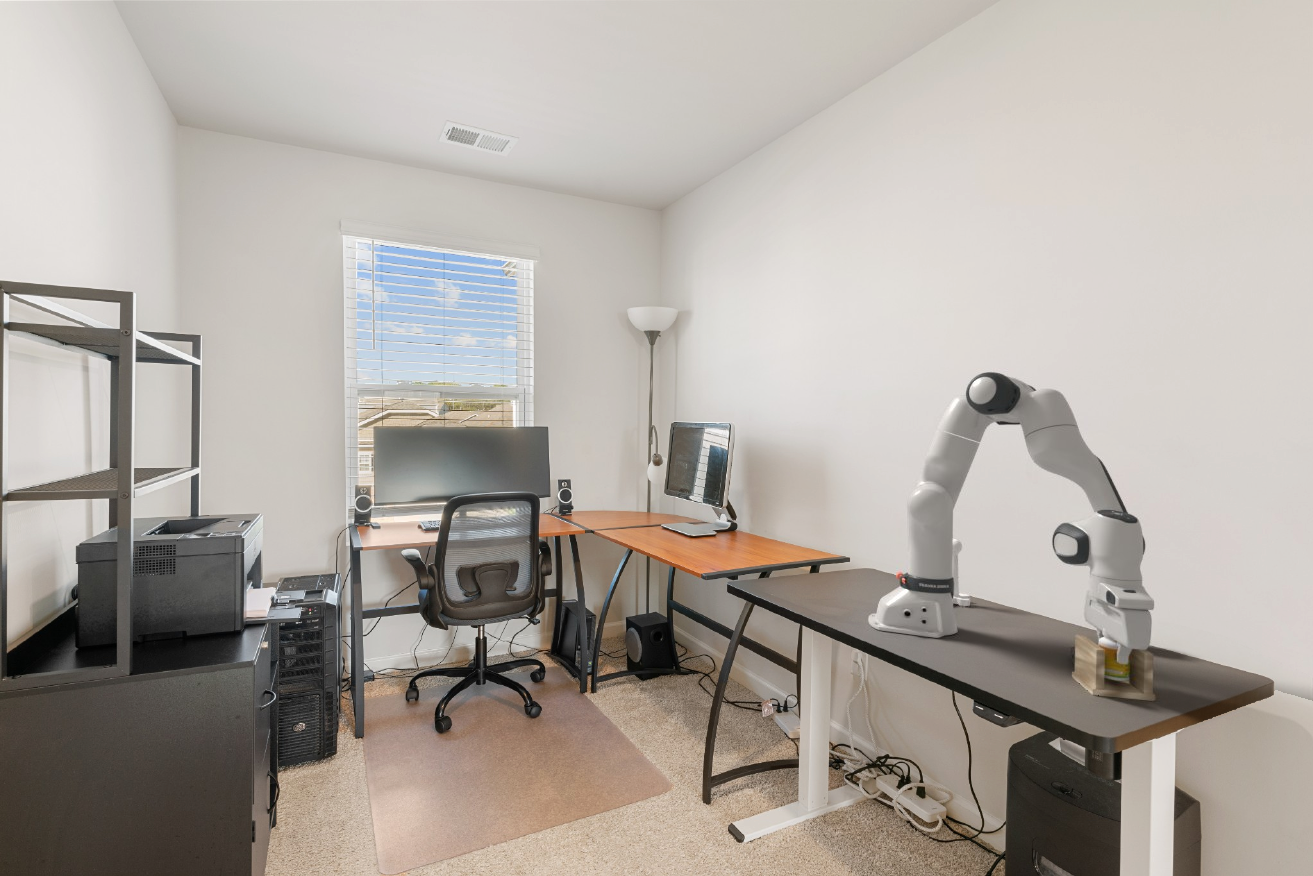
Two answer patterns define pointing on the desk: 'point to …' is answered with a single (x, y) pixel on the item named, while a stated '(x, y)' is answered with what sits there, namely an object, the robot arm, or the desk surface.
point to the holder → (1093, 679)
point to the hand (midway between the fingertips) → (1113, 657)
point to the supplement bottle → (1113, 660)
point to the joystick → (958, 597)
